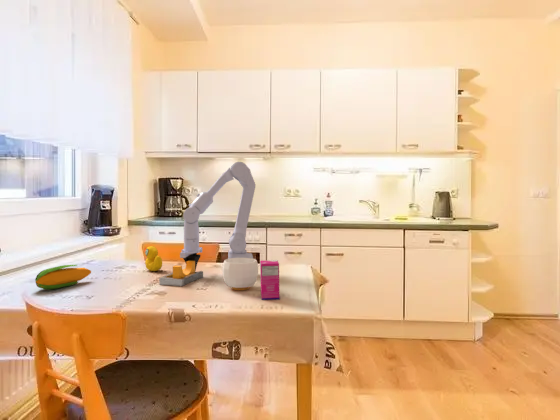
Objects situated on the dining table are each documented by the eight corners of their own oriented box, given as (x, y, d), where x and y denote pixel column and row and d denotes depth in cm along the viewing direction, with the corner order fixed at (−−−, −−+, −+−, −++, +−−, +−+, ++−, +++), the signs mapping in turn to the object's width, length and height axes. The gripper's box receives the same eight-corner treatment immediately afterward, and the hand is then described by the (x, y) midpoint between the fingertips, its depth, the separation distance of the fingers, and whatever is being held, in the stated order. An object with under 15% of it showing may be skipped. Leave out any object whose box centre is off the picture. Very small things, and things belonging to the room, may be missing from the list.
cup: (255, 283, 149) (255, 256, 149) (261, 292, 137) (261, 263, 137) (221, 285, 147) (220, 257, 146) (223, 294, 135) (223, 264, 134)
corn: (29, 268, 137) (84, 258, 154) (29, 290, 138) (83, 278, 155) (42, 272, 133) (96, 262, 151) (42, 295, 134) (96, 282, 152)
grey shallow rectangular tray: (203, 277, 159) (203, 271, 158) (184, 286, 144) (184, 279, 144) (178, 275, 162) (178, 269, 161) (156, 284, 147) (156, 277, 147)
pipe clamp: (184, 276, 159) (184, 260, 159) (195, 277, 158) (195, 260, 158) (168, 284, 148) (168, 266, 147) (179, 284, 146) (179, 266, 146)
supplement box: (260, 295, 133) (260, 259, 133) (278, 294, 134) (278, 259, 133) (260, 300, 128) (260, 263, 127) (279, 299, 128) (280, 263, 127)
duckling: (139, 269, 172) (139, 245, 172) (151, 267, 176) (151, 244, 176) (154, 273, 165) (153, 248, 164) (166, 271, 169) (165, 247, 168)
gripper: (191, 236, 168) (191, 269, 169) (172, 240, 154) (172, 276, 155) (207, 236, 166) (207, 270, 167) (189, 241, 152) (189, 277, 153)
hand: (191, 273), depth 161 cm, fingers closed
